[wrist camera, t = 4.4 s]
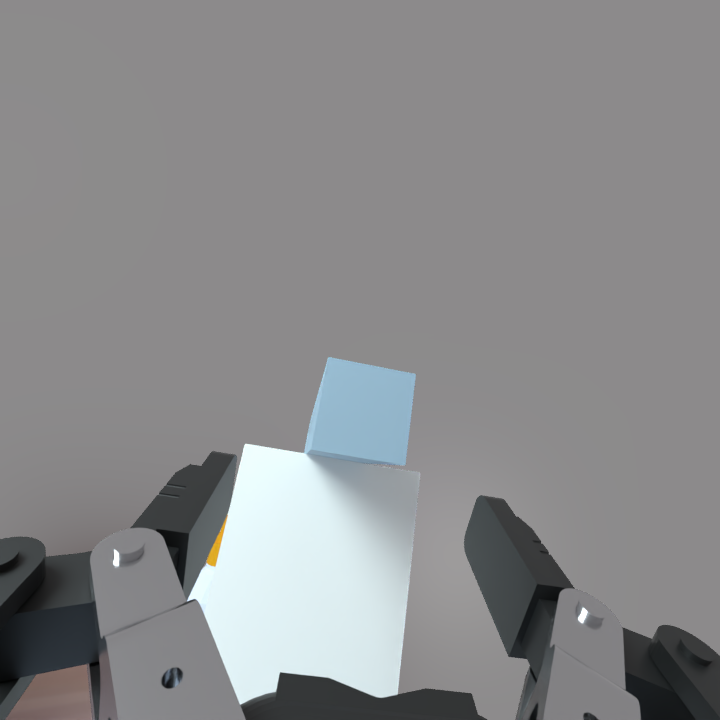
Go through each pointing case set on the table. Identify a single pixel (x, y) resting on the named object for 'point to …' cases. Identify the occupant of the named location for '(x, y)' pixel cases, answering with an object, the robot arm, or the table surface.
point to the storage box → (313, 572)
